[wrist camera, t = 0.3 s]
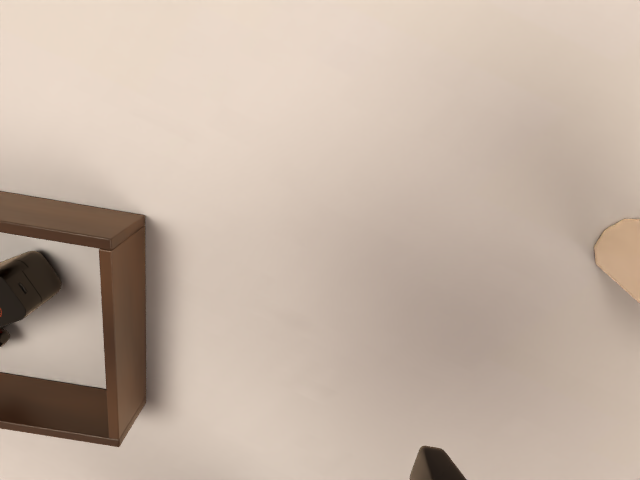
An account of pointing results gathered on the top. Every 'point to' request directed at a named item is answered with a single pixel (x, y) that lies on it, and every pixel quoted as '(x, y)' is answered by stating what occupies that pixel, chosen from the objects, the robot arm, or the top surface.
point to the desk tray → (118, 325)
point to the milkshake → (621, 255)
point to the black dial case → (24, 287)
